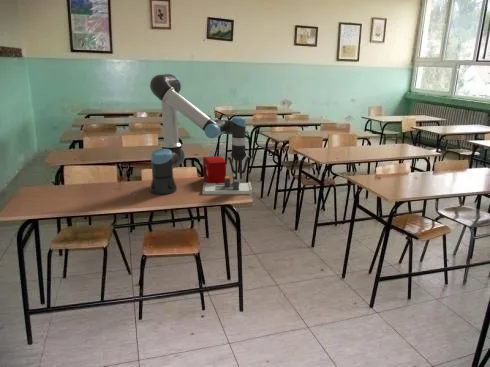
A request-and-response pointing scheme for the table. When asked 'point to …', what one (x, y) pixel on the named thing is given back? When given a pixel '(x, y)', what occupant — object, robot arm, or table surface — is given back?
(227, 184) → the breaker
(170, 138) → the robot arm
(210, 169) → the red rectangular box
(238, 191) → the white slider panel
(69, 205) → the table surface
